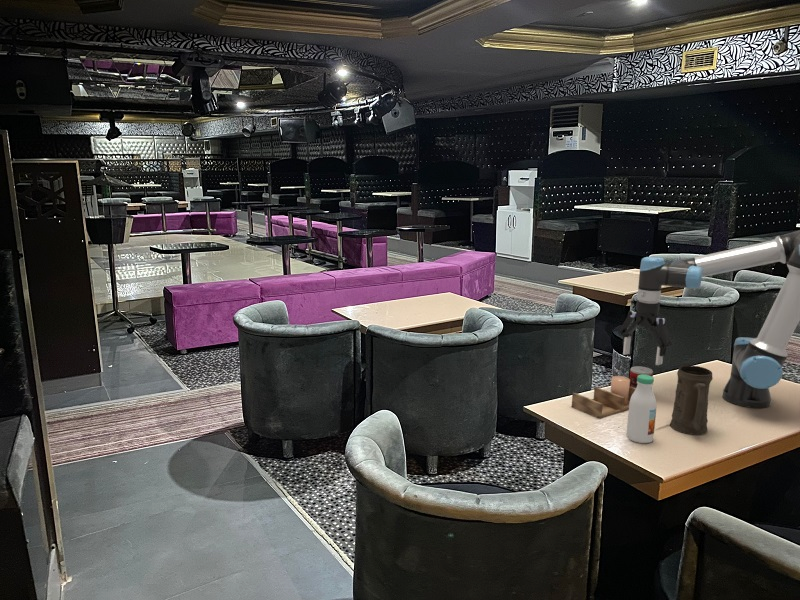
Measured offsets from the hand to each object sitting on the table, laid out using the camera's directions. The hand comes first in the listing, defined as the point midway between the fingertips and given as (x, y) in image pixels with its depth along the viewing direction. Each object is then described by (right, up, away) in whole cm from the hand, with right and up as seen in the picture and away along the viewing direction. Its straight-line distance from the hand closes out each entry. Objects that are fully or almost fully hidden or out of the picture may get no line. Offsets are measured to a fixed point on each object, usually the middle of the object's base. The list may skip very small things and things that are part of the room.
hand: (642, 359), depth 212 cm
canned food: (0, -15, +3) cm, 15 cm away
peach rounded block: (-10, -15, -4) cm, 19 cm away
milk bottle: (-13, -22, -30) cm, 39 cm away
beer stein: (+6, -21, -25) cm, 33 cm away
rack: (-15, -16, -7) cm, 23 cm away
